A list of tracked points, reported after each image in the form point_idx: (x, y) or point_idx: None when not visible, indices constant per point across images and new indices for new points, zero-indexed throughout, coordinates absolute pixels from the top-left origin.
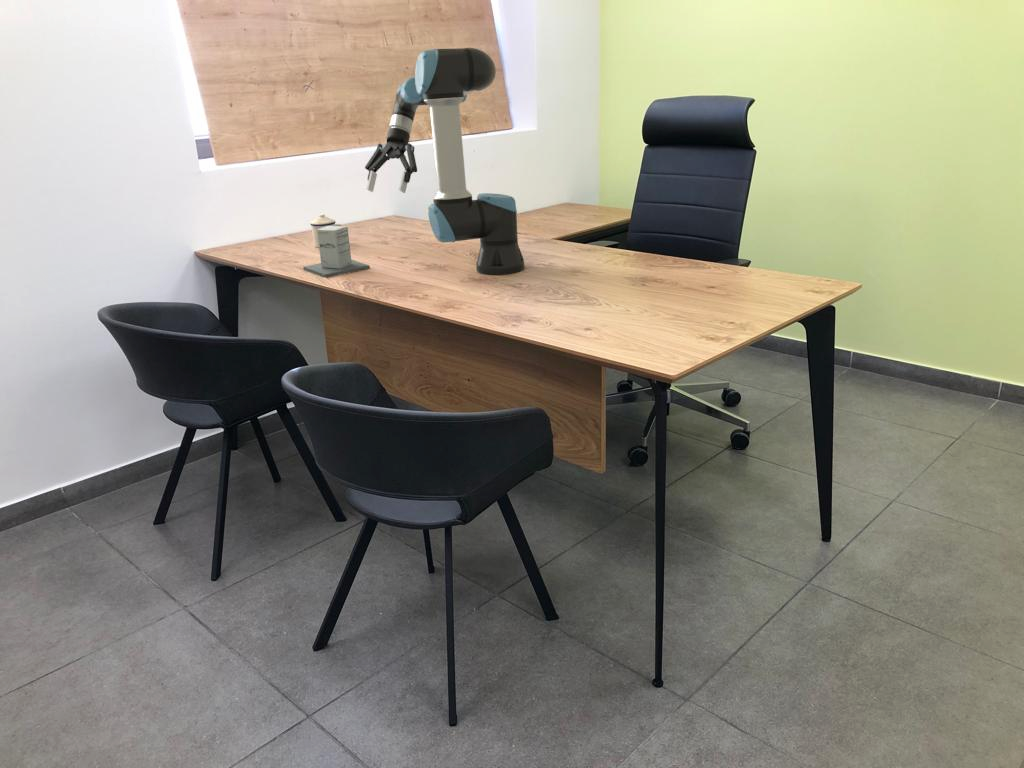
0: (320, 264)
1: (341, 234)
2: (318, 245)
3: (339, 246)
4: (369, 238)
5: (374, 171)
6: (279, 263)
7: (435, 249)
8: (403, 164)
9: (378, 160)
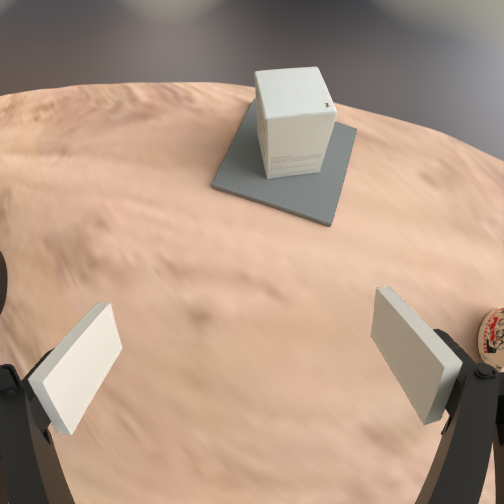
0: (338, 152)
1: (258, 101)
2: (496, 309)
3: (257, 110)
4: None
5: (452, 414)
6: (445, 162)
7: (181, 429)
8: (23, 435)
9: (460, 474)
